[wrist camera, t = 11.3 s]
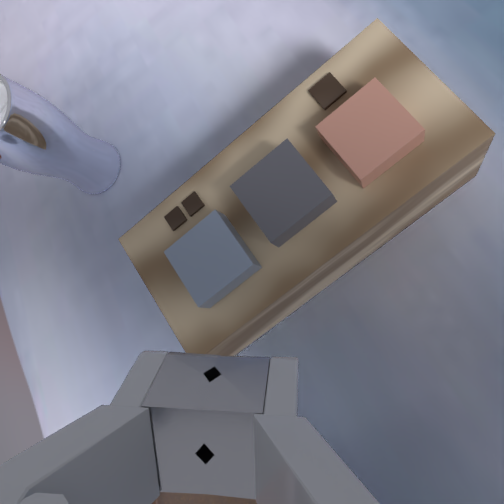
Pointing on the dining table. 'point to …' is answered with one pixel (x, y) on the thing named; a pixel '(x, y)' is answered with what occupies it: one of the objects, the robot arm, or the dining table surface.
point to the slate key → (212, 259)
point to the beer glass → (51, 142)
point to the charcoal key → (283, 193)
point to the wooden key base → (333, 176)
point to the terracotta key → (370, 132)
